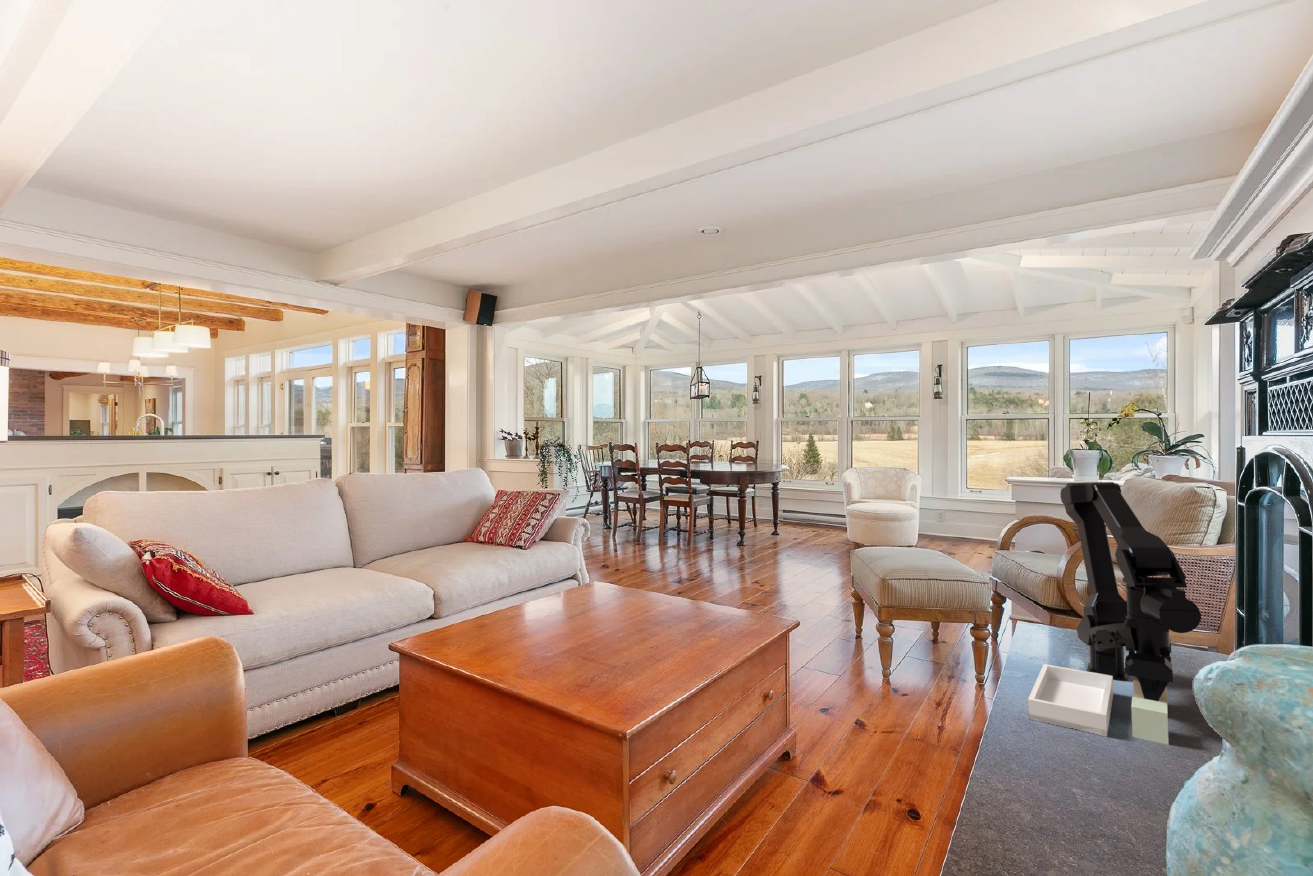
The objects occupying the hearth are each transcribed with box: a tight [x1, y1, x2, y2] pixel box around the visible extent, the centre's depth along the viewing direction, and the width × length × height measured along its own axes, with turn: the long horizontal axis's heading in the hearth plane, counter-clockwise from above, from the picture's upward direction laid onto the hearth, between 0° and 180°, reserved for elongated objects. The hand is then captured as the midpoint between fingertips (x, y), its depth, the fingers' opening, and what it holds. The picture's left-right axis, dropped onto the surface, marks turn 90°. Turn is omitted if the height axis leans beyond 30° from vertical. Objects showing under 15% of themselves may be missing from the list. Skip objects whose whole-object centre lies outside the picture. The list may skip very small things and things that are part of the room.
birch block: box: [1133, 676, 1169, 715], centre depth 109 cm, size 4×4×5 cm
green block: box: [1130, 696, 1170, 746], centre depth 100 cm, size 4×4×5 cm
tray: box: [1027, 663, 1114, 737], centre depth 111 cm, size 19×11×4 cm, turn 141°
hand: (1150, 702), depth 109 cm, fingers closed on birch block, 4 cm apart
